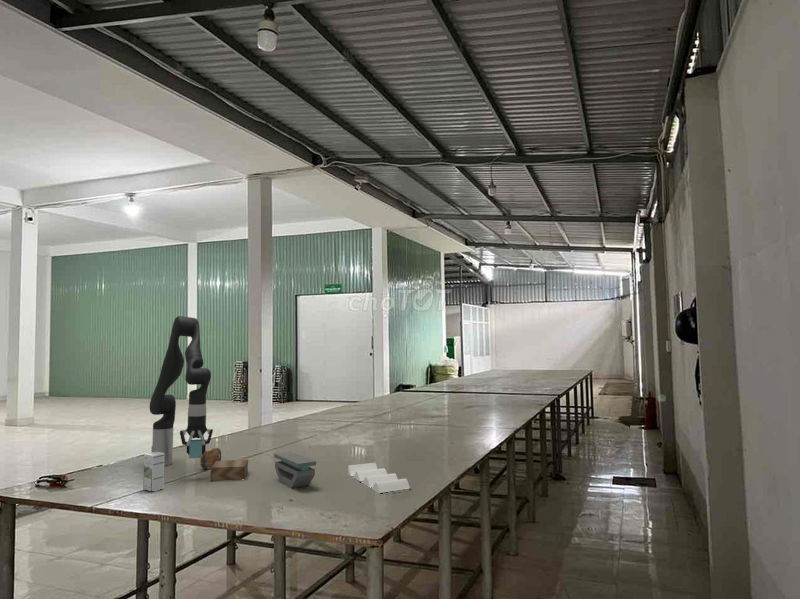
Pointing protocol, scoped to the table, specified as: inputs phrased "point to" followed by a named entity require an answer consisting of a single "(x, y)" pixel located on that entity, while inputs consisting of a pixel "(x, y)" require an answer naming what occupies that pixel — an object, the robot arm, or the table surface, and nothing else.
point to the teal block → (195, 449)
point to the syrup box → (153, 471)
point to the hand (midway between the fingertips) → (195, 453)
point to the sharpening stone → (294, 469)
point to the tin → (210, 458)
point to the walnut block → (229, 470)
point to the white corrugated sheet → (377, 478)
